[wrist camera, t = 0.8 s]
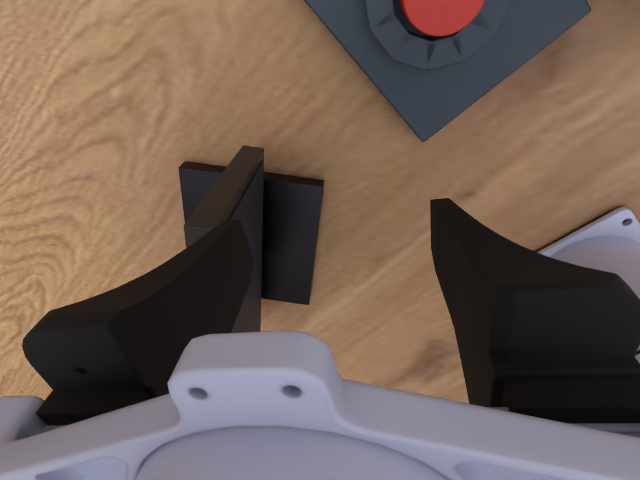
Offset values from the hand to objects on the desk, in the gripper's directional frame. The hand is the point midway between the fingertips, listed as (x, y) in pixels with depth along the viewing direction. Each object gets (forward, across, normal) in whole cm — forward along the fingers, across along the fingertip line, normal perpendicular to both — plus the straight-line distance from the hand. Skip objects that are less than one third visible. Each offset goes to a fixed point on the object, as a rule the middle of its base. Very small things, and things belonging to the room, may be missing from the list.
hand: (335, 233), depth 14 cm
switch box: (+10, -5, -7) cm, 13 cm away
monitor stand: (+10, +7, +6) cm, 14 cm away
